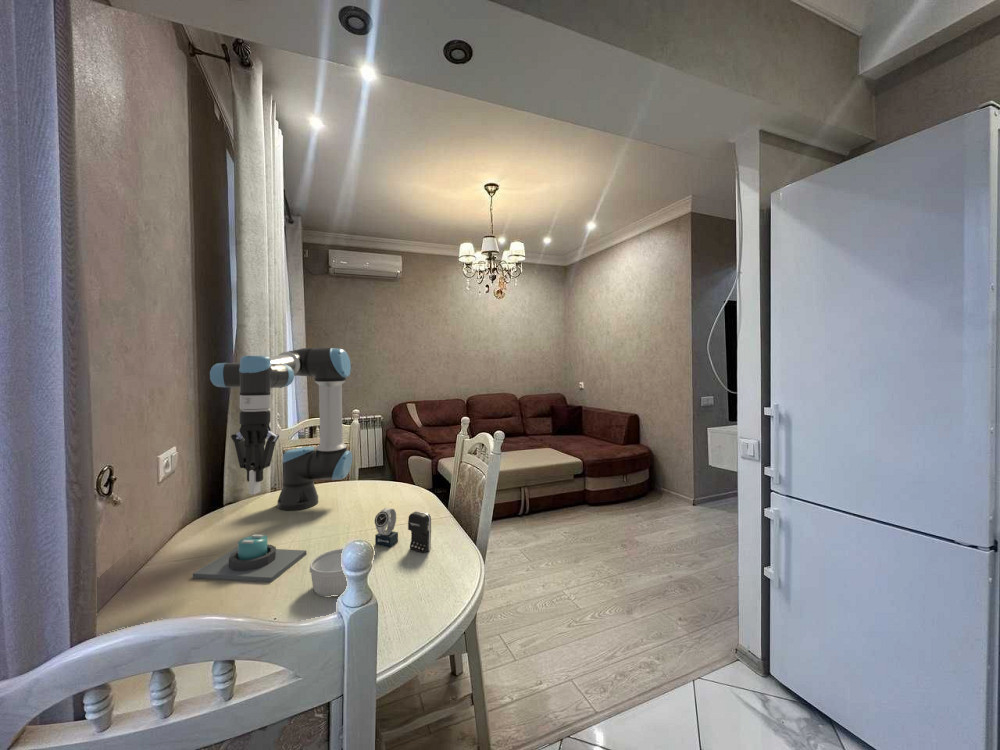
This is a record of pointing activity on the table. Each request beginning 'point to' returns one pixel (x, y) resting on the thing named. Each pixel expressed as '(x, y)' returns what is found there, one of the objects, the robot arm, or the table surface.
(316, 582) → the ramekin
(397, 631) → the table surface
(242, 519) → the table surface
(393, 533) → the watch
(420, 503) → the table surface
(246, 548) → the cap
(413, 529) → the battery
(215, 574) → the plate with oval ring
